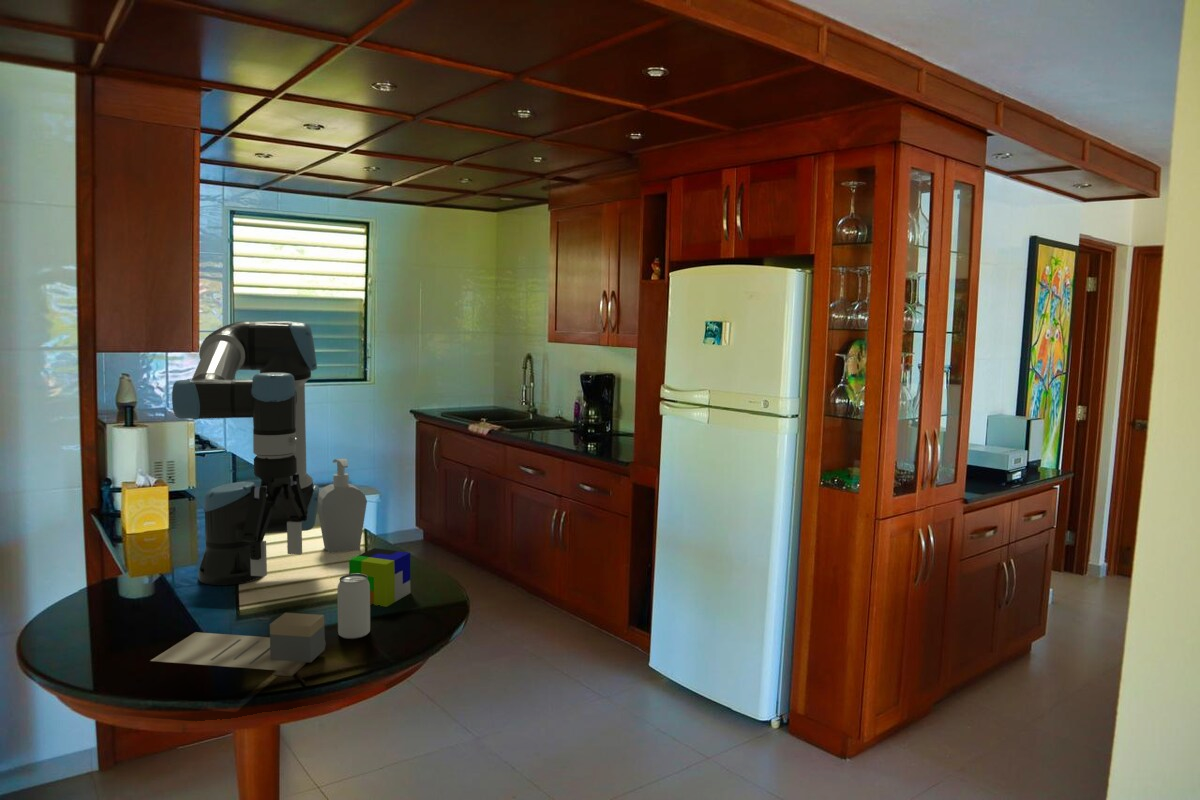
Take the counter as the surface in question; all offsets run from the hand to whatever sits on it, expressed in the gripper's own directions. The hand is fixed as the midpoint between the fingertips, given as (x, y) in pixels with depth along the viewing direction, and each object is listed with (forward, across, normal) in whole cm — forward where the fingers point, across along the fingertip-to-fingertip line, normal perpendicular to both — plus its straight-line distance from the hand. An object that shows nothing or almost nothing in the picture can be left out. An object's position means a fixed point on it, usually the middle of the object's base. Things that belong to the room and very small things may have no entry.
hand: (277, 564), depth 156 cm
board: (+19, 0, +8) cm, 20 cm away
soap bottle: (+19, +71, +19) cm, 76 cm away
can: (+19, +14, -9) cm, 25 cm away
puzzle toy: (+19, +36, -6) cm, 41 cm away
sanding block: (+18, 0, -4) cm, 18 cm away
